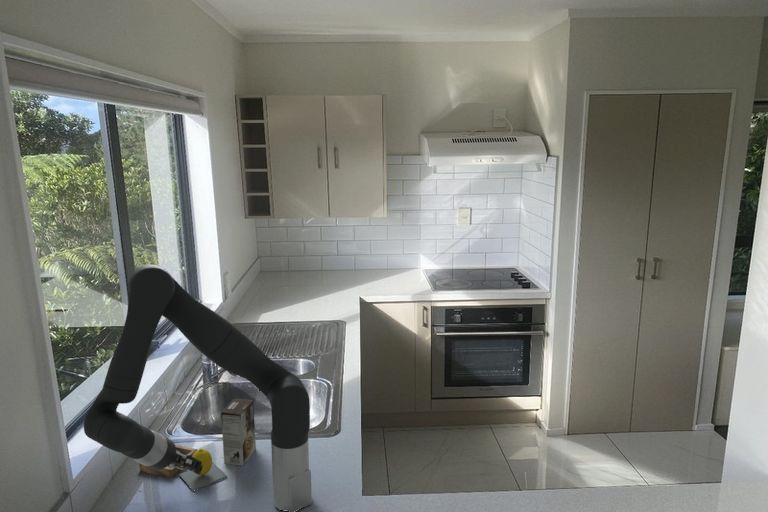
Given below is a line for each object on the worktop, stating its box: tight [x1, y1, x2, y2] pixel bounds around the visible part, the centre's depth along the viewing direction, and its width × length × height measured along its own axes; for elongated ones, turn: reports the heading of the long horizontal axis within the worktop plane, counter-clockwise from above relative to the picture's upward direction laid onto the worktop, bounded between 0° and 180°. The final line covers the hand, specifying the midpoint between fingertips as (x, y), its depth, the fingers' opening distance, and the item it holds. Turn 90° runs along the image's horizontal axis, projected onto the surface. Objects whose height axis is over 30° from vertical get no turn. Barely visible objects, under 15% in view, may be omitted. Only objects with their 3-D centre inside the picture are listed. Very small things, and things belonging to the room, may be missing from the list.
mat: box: [178, 461, 228, 492], centre depth 148 cm, size 10×10×1 cm
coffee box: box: [220, 398, 257, 466], centre depth 157 cm, size 9×6×16 cm
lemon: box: [192, 448, 213, 476], centre depth 147 cm, size 6×6×8 cm
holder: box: [138, 444, 198, 479], centre depth 154 cm, size 11×11×2 cm
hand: (186, 466), depth 141 cm, fingers open, 8 cm apart
